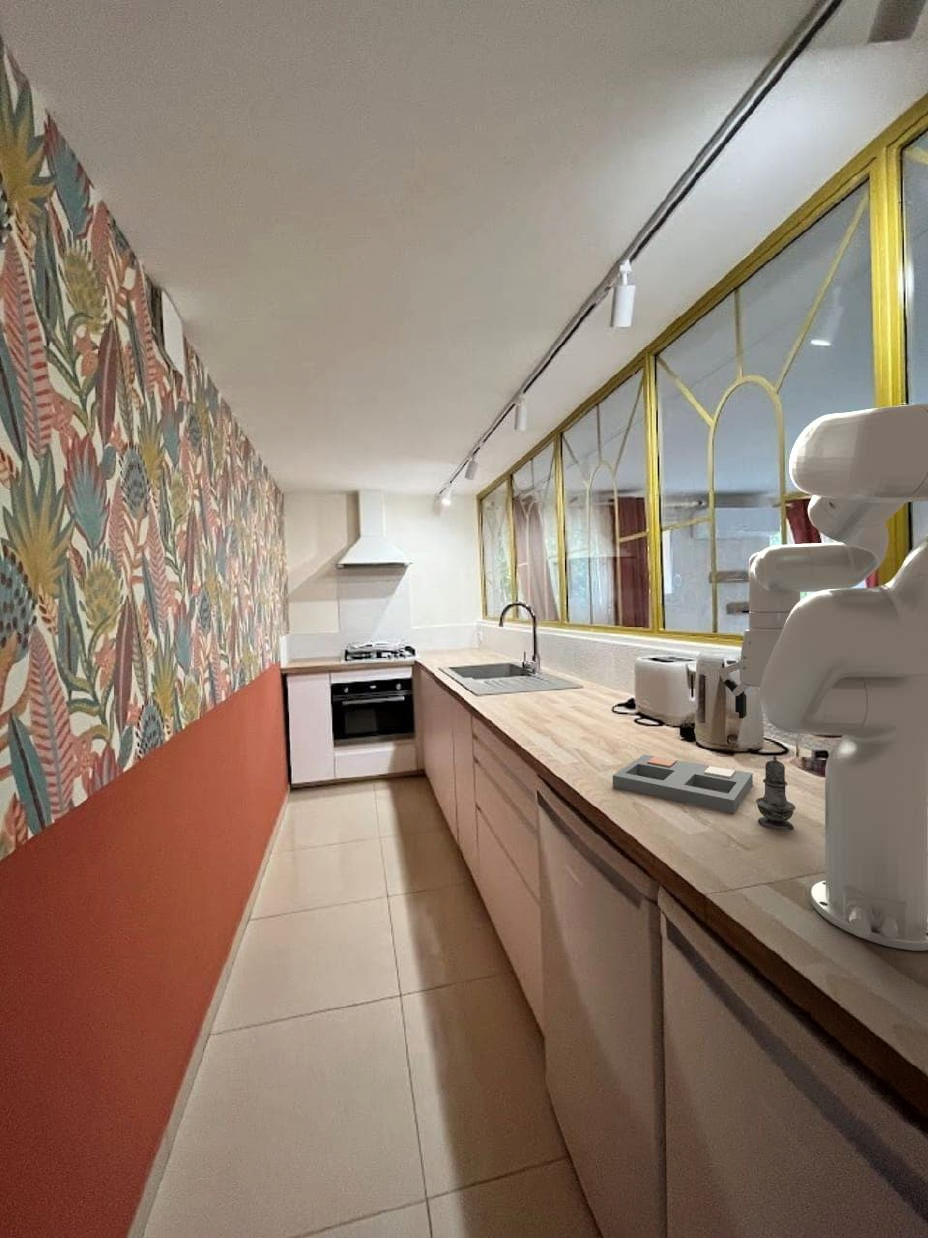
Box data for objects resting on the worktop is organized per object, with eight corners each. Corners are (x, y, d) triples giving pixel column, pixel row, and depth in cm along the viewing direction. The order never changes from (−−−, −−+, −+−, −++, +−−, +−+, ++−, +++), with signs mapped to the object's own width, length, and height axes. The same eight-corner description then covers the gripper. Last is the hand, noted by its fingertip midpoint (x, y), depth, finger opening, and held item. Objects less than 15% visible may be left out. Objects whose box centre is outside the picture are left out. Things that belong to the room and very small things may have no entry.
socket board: (734, 813, 90) (733, 798, 90) (612, 786, 105) (612, 773, 105) (752, 784, 105) (752, 771, 105) (644, 764, 119) (643, 752, 119)
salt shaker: (802, 833, 82) (801, 761, 82) (763, 830, 83) (762, 759, 83) (786, 818, 88) (786, 751, 88) (750, 816, 89) (750, 750, 89)
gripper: (837, 622, 83) (837, 723, 83) (723, 621, 94) (723, 710, 94) (835, 623, 77) (835, 732, 77) (714, 622, 88) (714, 718, 88)
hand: (773, 720), depth 86 cm, fingers open, 9 cm apart
